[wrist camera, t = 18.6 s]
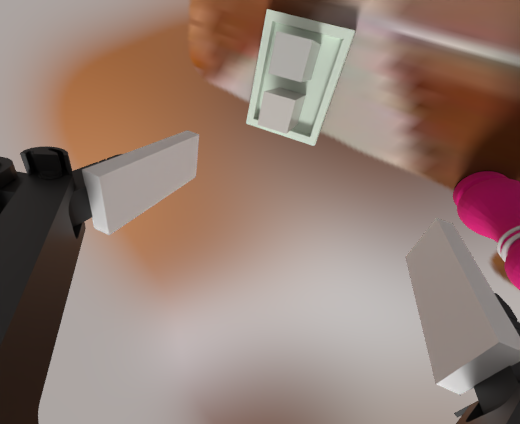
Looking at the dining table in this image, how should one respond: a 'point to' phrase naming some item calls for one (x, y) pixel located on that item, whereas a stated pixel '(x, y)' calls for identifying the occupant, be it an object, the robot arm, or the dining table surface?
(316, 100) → the bin
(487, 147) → the dining table surface
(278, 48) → the stone
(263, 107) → the stone
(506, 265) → the pepper mill
